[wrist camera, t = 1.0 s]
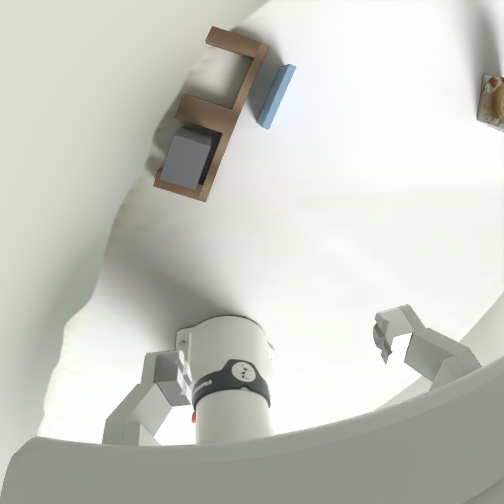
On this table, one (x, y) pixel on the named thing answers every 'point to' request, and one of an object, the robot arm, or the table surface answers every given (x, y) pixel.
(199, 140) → the plug
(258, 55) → the brown frame
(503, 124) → the coffee box
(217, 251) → the table surface
